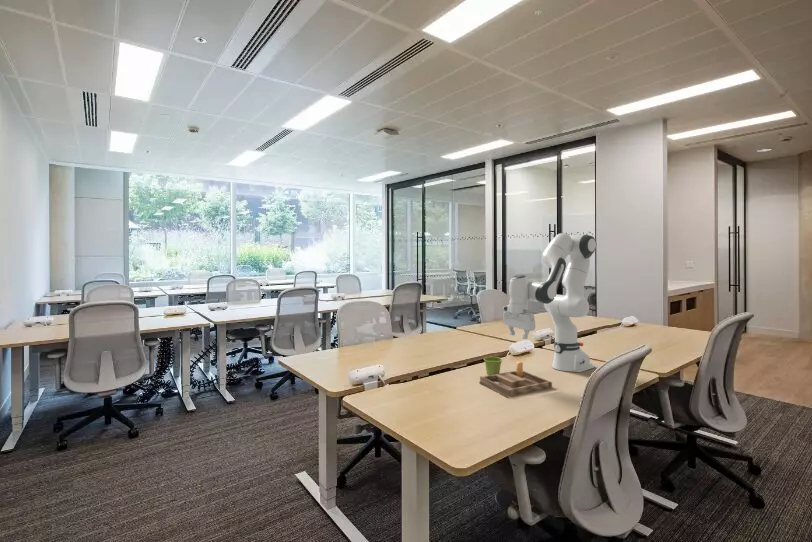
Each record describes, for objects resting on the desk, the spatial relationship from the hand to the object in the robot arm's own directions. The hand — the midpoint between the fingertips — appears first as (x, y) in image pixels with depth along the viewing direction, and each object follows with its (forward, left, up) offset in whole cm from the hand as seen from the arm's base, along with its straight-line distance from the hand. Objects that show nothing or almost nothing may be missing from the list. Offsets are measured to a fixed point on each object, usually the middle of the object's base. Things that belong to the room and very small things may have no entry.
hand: (518, 336), depth 195 cm
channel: (+7, +6, -22) cm, 23 cm away
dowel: (0, 0, -21) cm, 21 cm away
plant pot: (+7, -12, -22) cm, 26 cm away
